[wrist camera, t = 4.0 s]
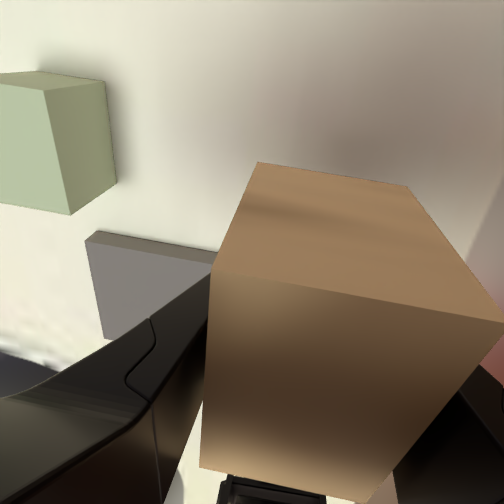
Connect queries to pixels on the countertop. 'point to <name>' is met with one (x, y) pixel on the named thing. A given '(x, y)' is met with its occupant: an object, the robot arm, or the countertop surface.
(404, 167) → the countertop surface
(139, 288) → the grey baseplate
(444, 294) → the oak brick
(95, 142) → the sage brick
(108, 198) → the countertop surface
